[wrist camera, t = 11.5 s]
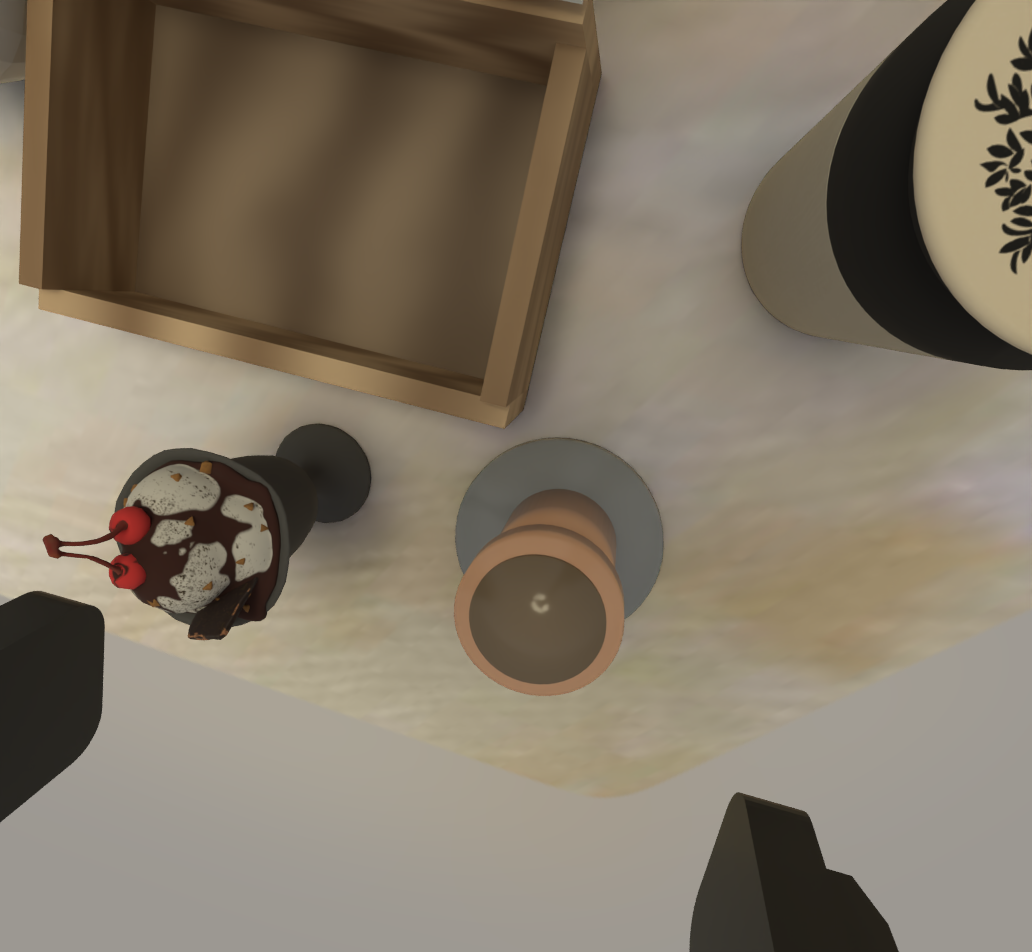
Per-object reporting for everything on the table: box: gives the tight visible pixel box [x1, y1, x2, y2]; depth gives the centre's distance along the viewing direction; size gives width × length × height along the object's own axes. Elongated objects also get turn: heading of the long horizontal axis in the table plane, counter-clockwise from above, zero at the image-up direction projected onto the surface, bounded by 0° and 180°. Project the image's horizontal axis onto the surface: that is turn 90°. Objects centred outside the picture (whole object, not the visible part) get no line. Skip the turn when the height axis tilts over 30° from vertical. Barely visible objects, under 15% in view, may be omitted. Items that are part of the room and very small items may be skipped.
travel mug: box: [742, 0, 1032, 370], centre depth 19 cm, size 8×8×18 cm
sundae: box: [43, 424, 371, 640], centre depth 27 cm, size 7×7×15 cm
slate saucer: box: [455, 437, 663, 619], centre depth 33 cm, size 10×10×1 cm
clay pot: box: [454, 489, 624, 696], centre depth 28 cm, size 6×6×8 cm
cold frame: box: [19, 0, 602, 429], centre depth 27 cm, size 20×14×8 cm
